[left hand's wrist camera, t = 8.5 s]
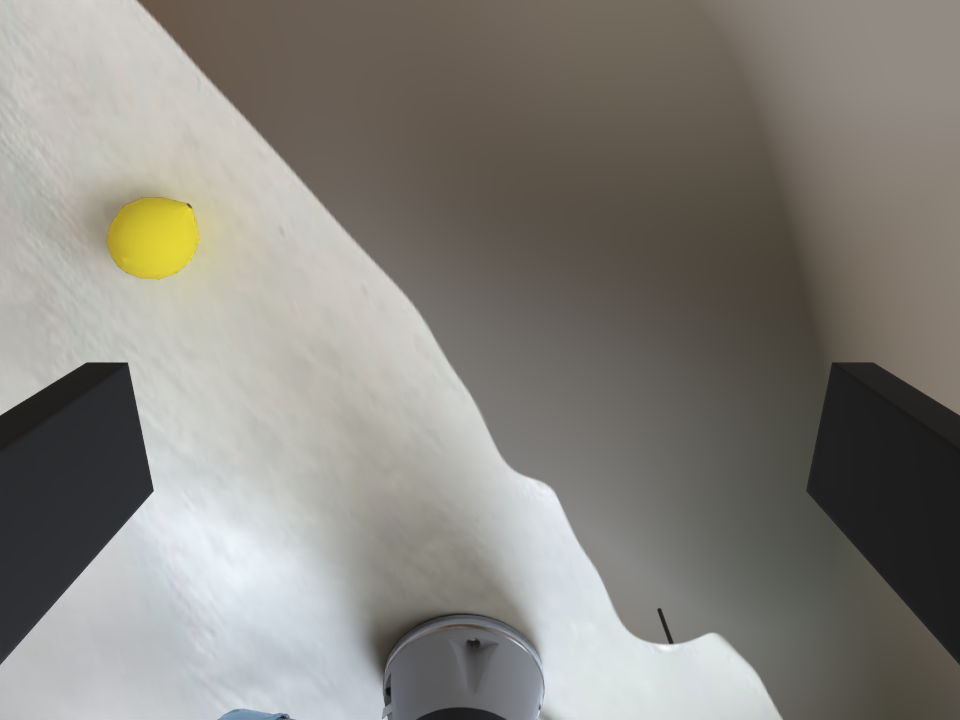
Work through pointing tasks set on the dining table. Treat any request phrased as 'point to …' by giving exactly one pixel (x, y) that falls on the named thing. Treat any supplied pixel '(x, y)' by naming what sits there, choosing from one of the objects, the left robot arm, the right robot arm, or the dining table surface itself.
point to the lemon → (153, 237)
